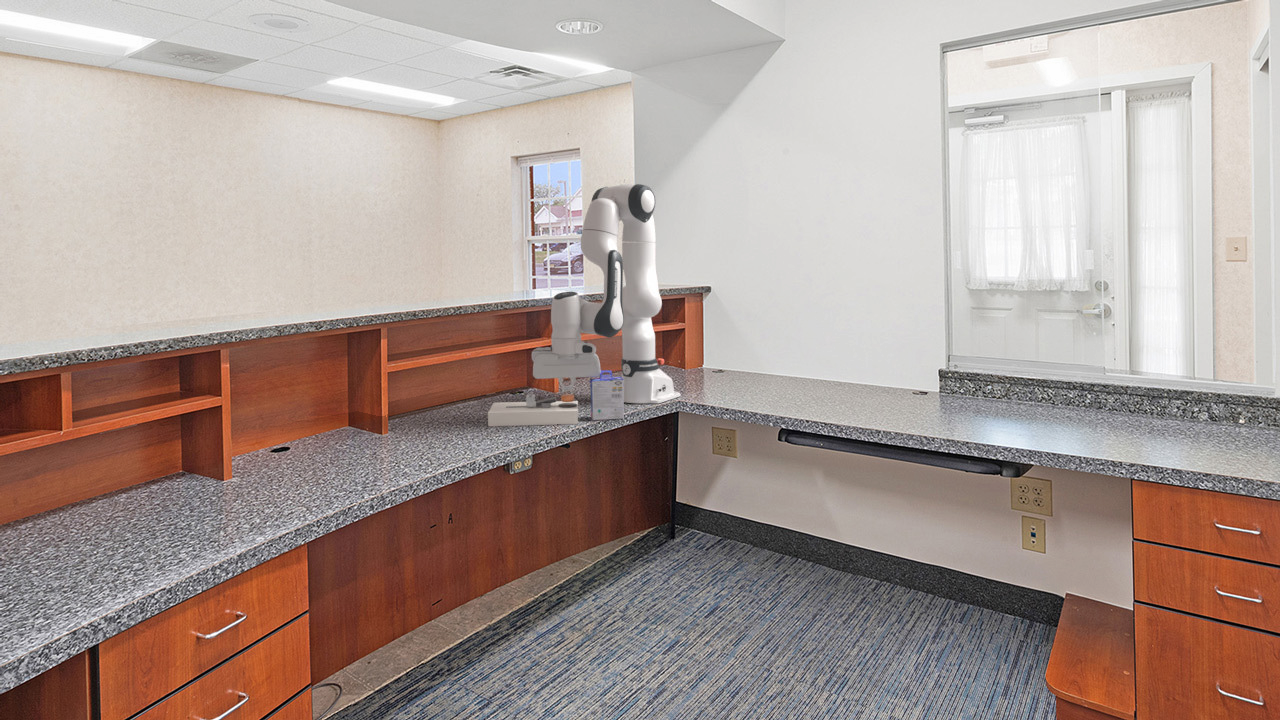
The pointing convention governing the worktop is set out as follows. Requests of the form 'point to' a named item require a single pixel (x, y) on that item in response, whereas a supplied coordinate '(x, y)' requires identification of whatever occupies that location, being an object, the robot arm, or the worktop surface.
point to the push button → (567, 398)
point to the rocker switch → (546, 401)
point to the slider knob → (530, 400)
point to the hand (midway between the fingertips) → (567, 392)
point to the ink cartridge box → (607, 397)
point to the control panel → (533, 414)
